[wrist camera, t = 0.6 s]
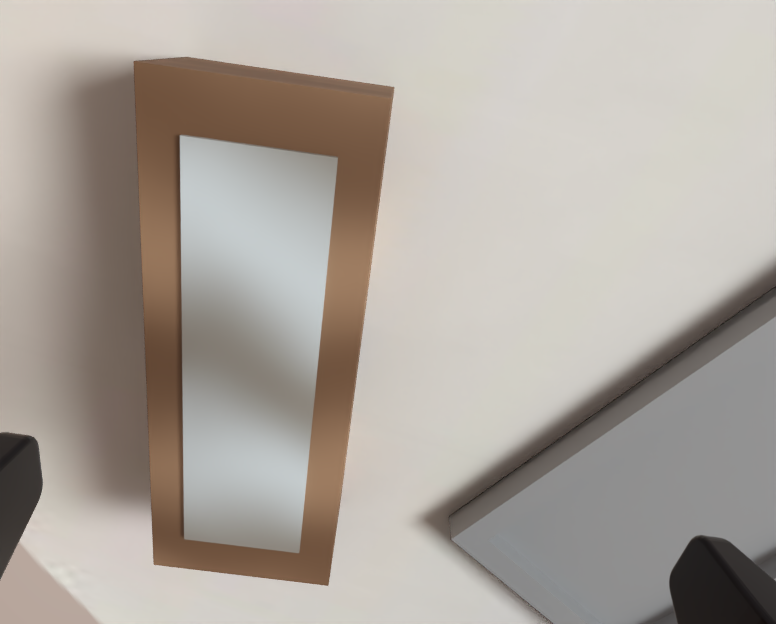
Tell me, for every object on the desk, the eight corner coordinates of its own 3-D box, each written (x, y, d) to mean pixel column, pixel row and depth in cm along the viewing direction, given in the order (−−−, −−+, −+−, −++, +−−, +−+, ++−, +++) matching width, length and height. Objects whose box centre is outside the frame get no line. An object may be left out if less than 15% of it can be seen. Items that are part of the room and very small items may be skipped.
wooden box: (340, 503, 24) (327, 589, 20) (192, 485, 24) (151, 568, 20) (394, 86, 18) (391, 99, 14) (190, 56, 17) (130, 61, 14)
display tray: (613, 653, 27) (622, 679, 26) (449, 516, 24) (451, 539, 23) (1122, 375, 20) (1163, 394, 19) (987, 137, 17) (1026, 144, 16)
